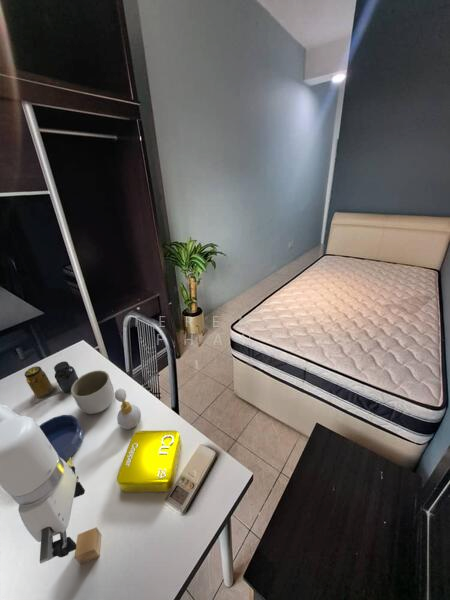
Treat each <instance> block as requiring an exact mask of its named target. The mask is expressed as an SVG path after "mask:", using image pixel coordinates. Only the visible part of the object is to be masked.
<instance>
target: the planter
mask: <svg viewBox="0 0 450 600" xmlns="http://www.w3.org/2000/svg"><path fill="white" fill-rule="evenodd" d="M70 394H71V395H72V397H73V399H74V401H75V403H76V404H77V407H78V408H79V410H81V411H82V412H83V413H85V414H89V415H93V414H94V415H95V414H99V413H101V412H103V411H105V410H106V409H108V407H109V406H110V405H111V404H112V403H113V400H114V399H115V390H114V386H113V383H112V380H111V378H110V375H109V373H108V372H107V371H105V370H92V371H88V372H87V373H84V374H82V375H81V376H79V377H78V379H77V380H76V381H75V382H74V384H73V385H72V387H71V393H70Z"/></svg>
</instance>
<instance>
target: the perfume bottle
mask: <svg viewBox="0 0 450 600" xmlns="http://www.w3.org/2000/svg"><path fill="white" fill-rule="evenodd" d="M114 399H115V400H116V401H117V402H119V403H121V405H120V410H119V412H118V413H117V417H116V420H117V424H118V425H119V427H121V428H122V429H125V430H130V429H133V428H135V427H136V426H137V425H138V424H139V423H140V421H141V417H142V413H141V412H142V411H141V410H140V408H139V407H138V406H137V405H135V404H131V403H130V402H129V401H126V399H127V392H126V390H125V389H124V388H118V389H116V390H115V391H114Z"/></svg>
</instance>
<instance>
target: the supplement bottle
mask: <svg viewBox="0 0 450 600" xmlns="http://www.w3.org/2000/svg"><path fill="white" fill-rule="evenodd" d="M53 370H54V379H55V382H57V383H58V384H59V386H60V391H61V392H62V393H63V394H72V393H71V387H72V385H73V384H74V382H75V381H76V380H77V379H78V378H79V376H78V374H77V371H76V369H75V368H74V367H73V366H72V365H70V364H69V362H68V361H60V362H58V363H57V364H55V365H54V366H53Z"/></svg>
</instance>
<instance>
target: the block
mask: <svg viewBox="0 0 450 600" xmlns="http://www.w3.org/2000/svg"><path fill="white" fill-rule="evenodd" d="M101 543H102V533H101V531H100V530H99V529H98V527H94V528H91V529H88V530H85V531H83V532H81V533H78V534H77V535H76V542H75V544H76V549H75V550H74V556H73V558H74V559H75V560H76V562H78V563H79V564H80V565H82V564H84V563H87V562H89V561H91V560H93V559H96V558H98V557H100V554H101V545H102V544H101Z"/></svg>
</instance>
